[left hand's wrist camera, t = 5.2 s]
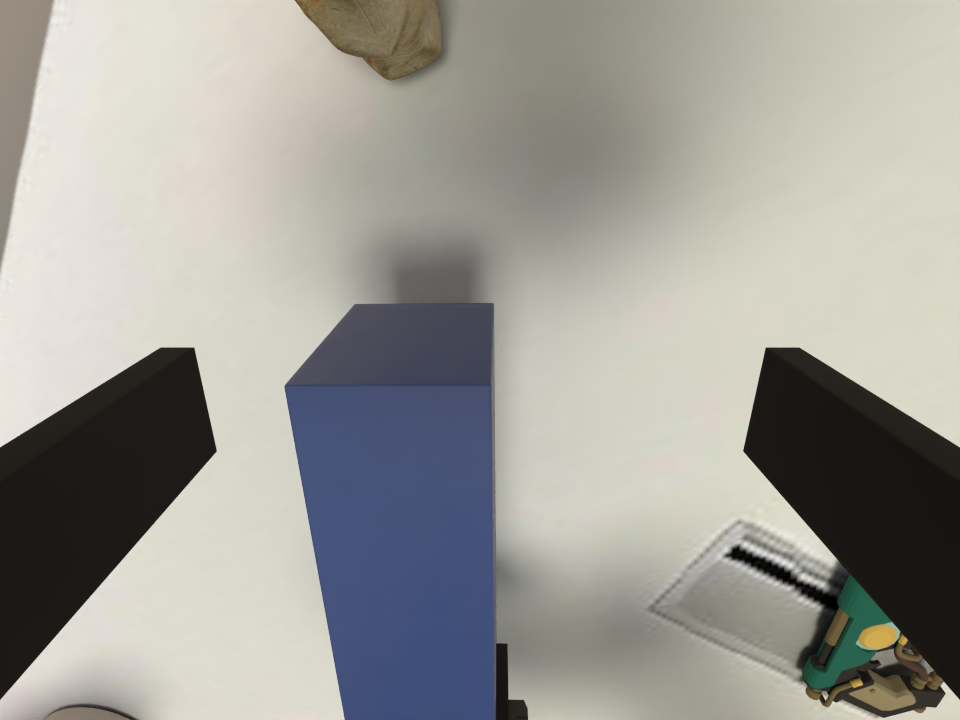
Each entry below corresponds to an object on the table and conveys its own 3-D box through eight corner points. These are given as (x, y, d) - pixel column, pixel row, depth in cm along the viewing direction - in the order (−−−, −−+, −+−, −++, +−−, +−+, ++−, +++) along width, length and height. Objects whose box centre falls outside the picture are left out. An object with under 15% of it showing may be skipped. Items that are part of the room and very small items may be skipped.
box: (354, 303, 27) (283, 385, 18) (493, 302, 26) (491, 385, 18) (398, 683, 38) (367, 849, 29) (496, 685, 37) (496, 853, 29)
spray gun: (890, 699, 50) (746, 656, 49) (1022, 584, 43) (856, 531, 42) (919, 747, 46) (764, 702, 45) (1070, 631, 39) (889, 574, 38)
